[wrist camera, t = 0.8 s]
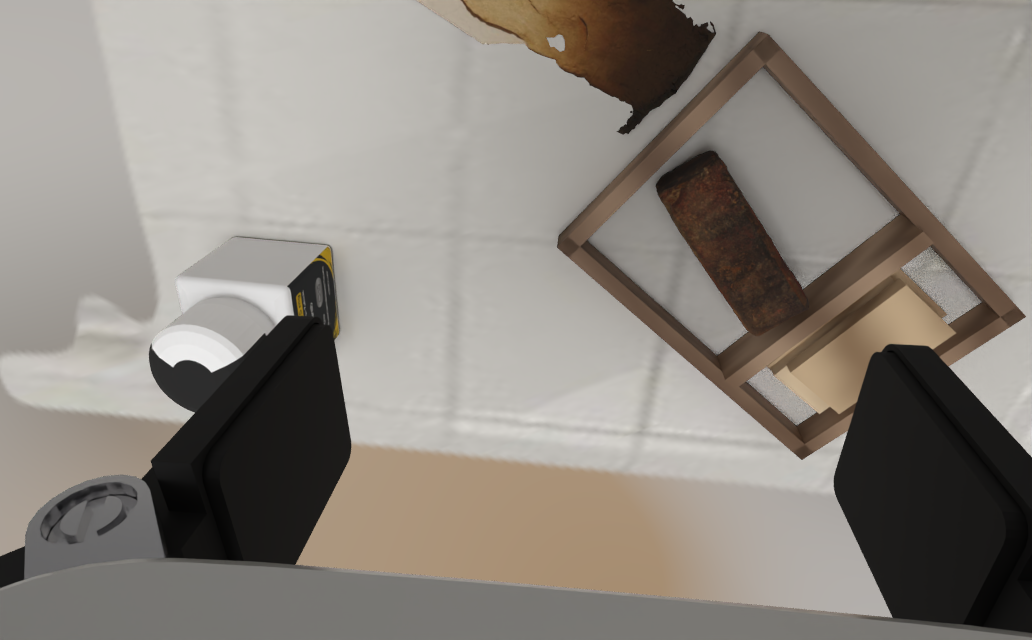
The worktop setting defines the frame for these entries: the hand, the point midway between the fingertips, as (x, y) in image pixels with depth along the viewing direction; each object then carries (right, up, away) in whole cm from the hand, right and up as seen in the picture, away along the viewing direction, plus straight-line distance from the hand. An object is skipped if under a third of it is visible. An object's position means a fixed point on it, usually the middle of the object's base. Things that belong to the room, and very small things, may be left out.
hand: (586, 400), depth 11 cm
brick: (+12, +7, +28) cm, 32 cm away
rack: (+15, +5, +29) cm, 33 cm away
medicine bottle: (-17, +4, +34) cm, 38 cm away
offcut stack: (+21, 0, +31) cm, 37 cm away
